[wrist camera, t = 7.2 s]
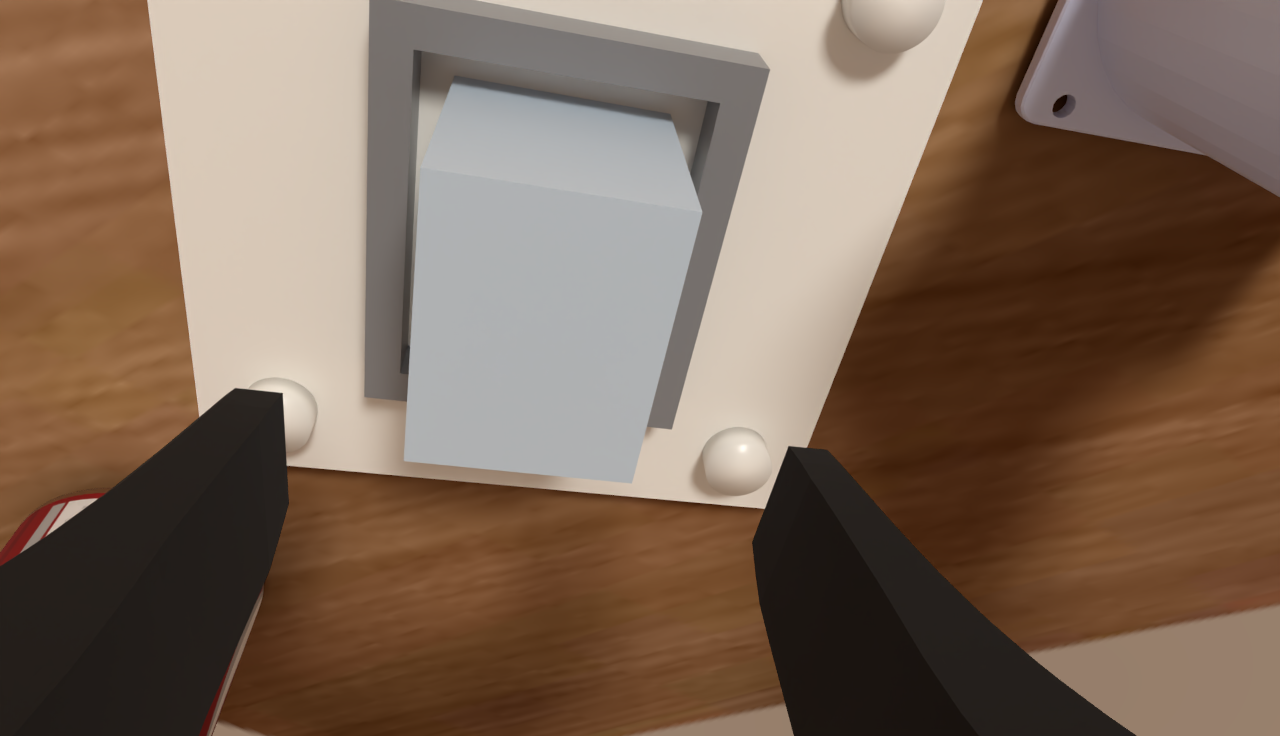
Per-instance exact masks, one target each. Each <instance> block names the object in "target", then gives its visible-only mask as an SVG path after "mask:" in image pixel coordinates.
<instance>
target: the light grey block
mask: <svg viewBox="0 0 1280 736" xmlns="http://www.w3.org/2000/svg"><path fill="white" fill-rule="evenodd" d="M701 216H702V209H701V206H700V203H699V200H698V197H697V194H696V191H695V188H694V185H693V182H692V178H691V175H690V172H689V169H688V166H687V163H686V160H685V157H684V154H683V151H682V148H681V145H680V142H679V139H678V136H677V133H676V130H675V127H674V124H673V121H672V118H671V115H670V114H668V113H662V112H657V111H651V110H645V109H640V108H634V107H629V106H623V105H617V104H612V103H606V102H601V101H595V100H589V99H584V98H578V97H572V96H567V95H561V94H556V93H550V92H544V91H539V90H533V89H527V88H522V87H516V86H511V85H505V84H499V83H494V82H488V81H483V80H477V79H471V78H466V77H460V76H454V79H453V81H452V84H451V87H450V89H449V92H448V95H447V98H446V100H445V103H444V106H443V108H442V111H441V114H440V116H439V119H438V122H437V124H436V127H435V130H434V132H433V135H432V138H431V140H430V143H429V146H428V148H427V151H426V154H425V156H424V159H423V162H422V165H421V167H420V183H419V200H418V218H417V236H416V253H415V271H414V288H413V306H412V324H411V341H410V359H409V376H408V394H407V411H406V429H405V447H404V461H407V462H418V463H428V464H438V465H448V466H458V467H469V468H479V469H489V470H499V471H509V472H519V473H530V474H540V475H550V476H560V477H570V478H581V479H591V480H601V481H611V482H621V483H631V484H632V481H633V478H634V474H635V470H636V466H637V462H638V458H639V454H640V451H641V447H642V443H643V439H644V435H645V431H646V428H647V424H648V420H649V416H650V412H651V408H652V405H653V401H654V397H655V393H656V389H657V385H658V381H659V378H660V374H661V370H662V366H663V362H664V358H665V355H666V351H667V347H668V343H669V339H670V335H671V332H672V328H673V324H674V320H675V316H676V312H677V308H678V305H679V301H680V297H681V293H682V289H683V285H684V282H685V278H686V274H687V270H688V266H689V262H690V259H691V255H692V251H693V247H694V243H695V239H696V235H697V232H698V228H699V224H700V220H701Z"/></svg>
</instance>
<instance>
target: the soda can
mask: <svg viewBox="0 0 1280 736" xmlns="http://www.w3.org/2000/svg"><path fill="white" fill-rule="evenodd" d="M110 489H112V488H96V489H88V490H81V491H77V492H73V493H69V494H65V495H62V496H59V497H57V498H54V499H52V500H50V501H48V502H46V503H45V504H43V505H41V506H40V507H38V508H37V509H36V510H34V511H33V512H32V513H30V514H29V516H28V517H27V518H26V519H25V520H24V521H23V522H22V524H21V525H20V526H19V528H18V529H17V530H16V532H15V533H14V535H13V536H12V537H11V539H10V540H9V541H8V543H7V544H6V545H5V547H4V548H3V550H2V551H1V552H0V566H1V565H3V564H4V563H6V562H7V561H9V560H10V559H12V558H14V557H15V556H17V555H18V554H20V553H21V552H23V551H24V550H26V549H27V548H29V547H30V546H32V545H33V544H35V543H36V542H38V541H39V540H41V539H42V538H44V537H45V536H47V535H48V534H50V533H51V532H53V531H54V530H55V529H57V528H58V527H60V526H61V525H62V524H64V523H65V522H66V521H68V520H69V519H71V518H72V517H73V516H75V515H76V514H78V513H79V512H80V511H82V510H83V509H84V508H86V507H87V506H89V505H90V504H91V503H93V502H94V501H96V500H97V499H98V498H100V497H101V496H103V495H104V494H105V493H107V492H108V491H109V490H110ZM263 593H264V585H263V587H262V589H261V592H260V594H259V596H258V599H257V601H256V603H255V606H254V608H253V610H252V613H251V615H250V617H249V620H248V622H247V624H246V627H245V629H244V631H243V634H242V636H241V638H240V640H239V643H238V645H237V647H236V650H235V652H234V654H233V656H232V659H231V661H230V663H229V666H228V668H227V670H226V673H225V675H224V677H223V679H222V682H221V684H220V686H219V689H218V691H217V693H216V696H215V698H214V700H213V702H212V705H211V707H210V709H209V712H208V714H207V716H206V719H205V721H204V724H203V726H202V729H201V732H200V734H199V736H212V734H213V732H214V729H215V726H216V724H217V721H218V718H219V715H220V713H221V710H222V707H223V705H224V702H225V699H226V696H227V694H228V691H229V688H230V686H231V683H232V680H233V678H234V675H235V672H236V669H237V667H238V664H239V661H240V659H241V656H242V653H243V650H244V648H245V645H246V642H247V640H248V637H249V634H250V631H251V629H252V626H253V623H254V621H255V618H256V615H257V612H258V610H259V607H260V604H261V601H262V598H263Z"/></svg>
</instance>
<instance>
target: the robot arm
mask: <svg viewBox="0 0 1280 736" xmlns="http://www.w3.org/2000/svg"><path fill="white" fill-rule="evenodd" d="M1063 95H1067V101H1066V104H1065V105H1064V106H1063V108H1062V109H1060V110H1059V111H1057V112H1052V109H1053V104H1054V103H1055V102H1056V100H1057V99H1058V98H1060V97H1061V96H1063ZM1015 107H1016V111H1017V113H1018V114H1019V115H1020V117H1022V118H1023V119H1025V120H1026V121H1028V122H1030V123H1033V124H1037V125H1043V126H1048V127H1054V128H1059V129H1065V130H1070V131H1076V132H1081V133H1087V134H1092V135H1097V136H1103V137H1108V138H1114V139H1119V140H1125V141H1130V142H1136V143H1141V144H1147V145H1152V146H1158V147H1163V148H1169V149H1174V150H1180V151H1185V152H1190V153H1196V154H1201V155H1207V156H1209V157H1210V158H1212V159H1214V160H1216V161H1217V162H1219V163H1221V164H1223V165H1224V166H1226V167H1228V168H1230V169H1231V170H1233V171H1235V172H1237V173H1238V174H1240V175H1242V176H1244V177H1245V178H1247V179H1249V180H1250V181H1252V182H1254V183H1256V184H1257V185H1259V186H1261V187H1263V188H1264V189H1266V190H1268V191H1270V192H1271V193H1273V194H1275V195H1277V196H1278V197H1280V0H1058V2H1057V4H1056V7H1055V9H1054V11H1053V13H1052V16H1051V18H1050V20H1049V22H1048V25H1047V27H1046V29H1045V32H1044V34H1043V36H1042V38H1041V41H1040V43H1039V45H1038V47H1037V50H1036V52H1035V54H1034V57H1033V59H1032V61H1031V63H1030V66H1029V68H1028V70H1027V72H1026V75H1025V77H1024V79H1023V81H1022V84H1021V86H1020V88H1019V91H1018V93H1017V96H1016V100H1015ZM288 505H289V498H288V479H287V461H286V442H285V424H284V406H283V393H279V392H269V391H260V390H250V389H240V388H234V389H233V390H232V391H230V392H229V393H227V394H226V395H225V396H224V397H223V398H221V399H220V400H219V401H218V402H217V403H215V404H214V405H213V406H212V407H211V408H210V409H208V410H207V411H206V412H205V413H204V414H202V415H201V416H200V417H199V418H198V419H197V420H195V421H194V422H193V423H192V424H191V425H190V426H188V427H187V428H186V429H185V430H184V431H183V432H181V433H180V434H179V435H178V436H177V437H175V438H174V439H173V440H172V441H171V442H169V443H168V444H167V445H166V446H165V447H163V448H162V449H161V450H160V451H159V452H157V453H156V454H155V455H153V456H152V457H151V458H150V459H148V460H147V461H146V462H145V463H143V464H142V465H141V466H140V467H138V468H137V469H136V470H135V471H133V472H132V473H131V474H130V475H128V476H127V477H126V478H125V479H123V480H122V481H121V482H120V483H118V484H117V485H116V486H114V487H113V488H112V489H110V490H109V491H108V492H107V493H105V494H104V495H103V496H101V497H100V498H98V499H97V500H96V501H94V502H93V503H91V504H90V505H89V506H87V507H86V508H84V509H83V510H82V511H80V512H79V513H78V514H76V515H75V516H73V517H72V518H71V519H69V520H68V521H66V522H65V523H64V524H62V525H61V526H60V527H58V528H57V529H55V530H54V531H53V532H51V533H50V534H48V535H47V536H45V537H44V538H42V539H41V540H39V541H38V542H36V543H35V544H33V545H32V546H30V547H29V548H27V549H26V550H24V551H23V552H21V553H20V554H18V555H17V556H15V557H14V558H12V559H10V560H9V561H7V562H6V563H4V564H3V565H1V566H0V736H199V734H200V732H201V729H202V726H203V724H204V721H205V719H206V716H207V714H208V712H209V709H210V707H211V705H212V702H213V700H214V698H215V696H216V693H217V691H218V689H219V686H220V684H221V682H222V679H223V677H224V675H225V673H226V670H227V668H228V666H229V663H230V661H231V659H232V656H233V654H234V652H235V650H236V647H237V645H238V643H239V640H240V638H241V636H242V634H243V631H244V629H245V627H246V624H247V622H248V620H249V617H250V615H251V613H252V610H253V608H254V606H255V603H256V601H257V599H258V596H259V594H260V592H261V589H262V587H263V585H264V582H265V580H266V577H267V575H268V573H269V570H270V567H271V564H272V561H273V557H274V554H275V551H276V547H277V544H278V540H279V537H280V533H281V530H282V526H283V523H284V519H285V515H286V512H287V508H288ZM752 544H753V553H754V563H755V572H756V580H757V587H758V595H759V602H760V607H761V611H762V615H763V619H764V623H765V627H766V631H767V635H768V639H769V643H770V647H771V651H772V655H773V658H774V662H775V666H776V670H777V673H778V677H779V681H780V685H781V689H782V692H783V696H784V700H785V704H786V707H787V711H788V715H789V718H790V722H791V726H792V730H793V734H794V736H1136V735H1135V734H1133V733H1132V732H1130V731H1129V730H1128V729H1126V728H1125V727H1123V726H1122V725H1120V724H1119V723H1117V722H1116V721H1115V720H1113V719H1112V718H1110V717H1109V716H1107V715H1106V714H1105V713H1103V712H1102V711H1101V710H1099V709H1098V708H1097V707H1095V706H1094V705H1093V704H1091V703H1090V702H1088V701H1087V700H1086V699H1085V698H1083V697H1082V696H1081V695H1079V694H1078V693H1076V692H1075V691H1074V690H1073V689H1071V688H1069V686H1067V685H1066V684H1064V683H1063V682H1062V681H1060V680H1059V679H1058V678H1057V677H1055V676H1054V675H1053V674H1052V673H1050V672H1049V671H1048V670H1047V669H1045V668H1044V667H1043V666H1042V665H1040V664H1039V663H1038V662H1037V661H1035V660H1034V659H1033V658H1032V657H1031V656H1029V655H1028V654H1027V653H1026V652H1025V651H1024V650H1022V649H1021V648H1020V647H1019V646H1018V645H1017V644H1015V643H1014V642H1013V641H1012V640H1011V639H1010V638H1008V637H1007V636H1006V635H1005V634H1004V633H1003V632H1001V631H1000V630H999V629H998V628H997V627H996V626H994V625H993V624H992V623H991V622H990V621H989V620H988V619H987V618H986V617H985V616H984V615H982V614H981V613H980V612H979V611H978V610H977V609H976V608H975V607H974V606H973V605H972V604H971V603H970V602H969V601H968V600H967V599H966V598H965V597H964V596H963V595H962V594H961V593H959V592H958V591H957V590H956V589H955V588H954V587H953V586H952V585H951V584H950V583H949V582H948V581H947V580H946V579H945V578H944V577H943V576H942V575H941V574H940V573H939V572H938V571H937V570H936V569H935V568H934V567H933V566H932V565H931V563H930V562H929V561H928V560H927V559H926V558H925V557H924V556H923V555H922V554H921V553H920V552H919V551H918V550H917V549H916V548H915V547H914V546H913V545H912V543H911V542H910V541H909V540H908V539H907V538H906V537H905V536H904V535H903V534H902V533H901V531H900V530H899V529H898V528H897V527H896V526H895V525H894V524H893V523H892V522H891V520H890V519H889V518H888V517H887V516H886V515H885V514H884V513H883V511H882V510H881V509H880V508H879V507H878V506H877V505H876V504H875V502H874V501H873V500H872V499H871V498H870V497H869V496H868V494H867V493H866V492H865V491H864V490H863V489H862V488H861V487H860V485H859V484H858V483H857V482H856V481H855V480H854V479H853V477H852V476H851V475H850V474H849V473H848V472H847V471H846V470H845V469H844V467H843V466H842V465H841V464H840V463H839V462H838V461H837V460H836V459H835V458H834V457H833V456H832V455H831V453H830V452H829V451H828V450H823V449H813V448H804V447H794V446H788V449H787V452H786V454H785V457H784V459H783V462H782V465H781V467H780V470H779V473H778V475H777V478H776V481H775V483H774V486H773V489H772V491H771V494H770V497H769V499H768V502H767V504H766V507H765V510H764V512H763V515H762V518H761V520H760V523H759V526H758V528H757V531H756V534H755V536H754V539H753V542H752Z"/></svg>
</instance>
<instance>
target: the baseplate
mask: <svg viewBox="0 0 1280 736" xmlns="http://www.w3.org/2000/svg"><path fill="white" fill-rule="evenodd" d="M147 1H148V9H149V17H150V25H151V33H152V41H153V49H154V57H155V65H156V73H157V81H158V89H159V97H160V105H161V113H162V121H163V129H164V137H165V145H166V153H167V161H168V169H169V177H170V185H171V193H172V201H173V209H174V217H175V225H176V233H177V241H178V249H179V257H180V265H181V273H182V281H183V289H184V297H185V305H186V313H187V321H188V329H189V337H190V345H191V353H192V361H193V369H194V377H195V385H196V393H197V401H198V409H199V417H200V416H201V415H202V414H204V413H205V412H206V411H207V410H208V409H210V408H211V407H212V406H213V405H214V404H215V403H217V402H218V401H219V400H220V399H221V398H223V397H224V396H225V395H226V394H227V393H229V392H230V391H232V390H233V389H234V388H240V389H250V390H260V391H269V392H279V393H283V406H284V424H285V442H286V461H287V466H297V467H308V468H319V469H330V470H342V471H353V472H364V473H375V474H386V475H397V476H408V477H419V478H430V479H441V480H452V481H463V482H474V483H486V484H497V485H508V486H519V487H530V488H541V489H552V490H563V491H574V492H585V493H596V494H607V495H618V496H630V497H641V498H652V499H663V500H674V501H685V502H696V503H707V504H718V505H729V506H740V507H751V508H762V509H765V507H766V504H767V502H768V499H769V497H770V494H771V491H772V489H773V486H774V483H775V481H776V478H777V475H778V473H779V470H780V467H781V465H782V462H783V459H784V457H785V454H786V452H787V449H788V446H794V447H804V448H807V446H808V443H809V441H810V438H811V436H812V433H813V431H814V428H815V426H816V423H817V421H818V418H819V415H820V413H821V410H822V408H823V405H824V403H825V400H826V398H827V395H828V393H829V390H830V388H831V385H832V382H833V380H834V377H835V375H836V372H837V370H838V367H839V365H840V362H841V360H842V357H843V355H844V352H845V349H846V347H847V344H848V342H849V339H850V337H851V334H852V332H853V329H854V327H855V324H856V322H857V319H858V316H859V314H860V311H861V309H862V306H863V304H864V301H865V299H866V296H867V294H868V291H869V288H870V286H871V283H872V281H873V278H874V276H875V273H876V271H877V268H878V266H879V263H880V261H881V258H882V255H883V253H884V250H885V248H886V245H887V243H888V240H889V238H890V235H891V233H892V230H893V228H894V225H895V222H896V220H897V217H898V215H899V212H900V210H901V207H902V205H903V202H904V200H905V197H906V195H907V192H908V189H909V187H910V184H911V182H912V179H913V177H914V174H915V172H916V169H917V167H918V164H919V161H920V159H921V156H922V154H923V151H924V149H925V146H926V144H927V141H928V139H929V136H930V134H931V131H932V128H933V126H934V123H935V121H936V118H937V116H938V113H939V111H940V108H941V106H942V103H943V101H944V98H945V95H946V93H947V90H948V88H949V85H950V83H951V80H952V78H953V75H954V73H955V70H956V68H957V65H958V62H959V60H960V57H961V55H962V52H963V50H964V47H965V45H966V42H967V40H968V37H969V35H970V32H971V29H972V27H973V24H974V22H975V19H976V17H977V14H978V12H979V9H980V7H981V4H982V1H983V0H147ZM454 76H460V77H466V78H471V79H477V80H483V81H488V82H494V83H499V84H505V85H511V86H516V87H522V88H527V89H533V90H539V91H544V92H550V93H556V94H561V95H567V96H572V97H578V98H584V99H589V100H595V101H601V102H606V103H612V104H617V105H623V106H629V107H634V108H640V109H645V110H651V111H657V112H662V113H668V114H670V115H671V118H672V121H673V124H674V127H675V130H676V133H677V136H678V139H679V142H680V145H681V148H682V151H683V154H684V157H685V160H686V163H687V166H688V169H689V172H690V175H691V178H692V182H693V185H694V188H695V191H696V194H697V197H698V200H699V203H700V206H701V209H702V216H701V220H700V224H699V228H698V232H697V235H696V239H695V243H694V247H693V251H692V255H691V259H690V262H689V266H688V270H687V274H686V278H685V282H684V285H683V289H682V293H681V297H680V301H679V305H678V308H677V312H676V316H675V320H674V324H673V328H672V332H671V335H670V339H669V343H668V347H667V351H666V355H665V358H664V362H663V366H662V370H661V374H660V378H659V381H658V385H657V389H656V393H655V397H654V401H653V405H652V408H651V412H650V416H649V420H648V424H647V428H646V431H645V435H644V439H643V443H642V447H641V451H640V454H639V458H638V462H637V466H636V470H635V474H634V478H633V481H632V484H631V483H621V482H611V481H601V480H591V479H581V478H570V477H560V476H550V475H540V474H530V473H519V472H509V471H499V470H489V469H479V468H469V467H458V466H448V465H438V464H428V463H418V462H407V461H404V447H405V429H406V411H407V394H408V376H409V359H410V341H411V324H412V306H413V288H414V271H415V253H416V236H417V218H418V200H419V183H420V167H421V165H422V162H423V159H424V156H425V154H426V151H427V148H428V146H429V143H430V140H431V138H432V135H433V132H434V130H435V127H436V124H437V122H438V119H439V116H440V114H441V111H442V108H443V106H444V103H445V100H446V98H447V95H448V92H449V89H450V87H451V84H452V81H453V79H454Z"/></svg>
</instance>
